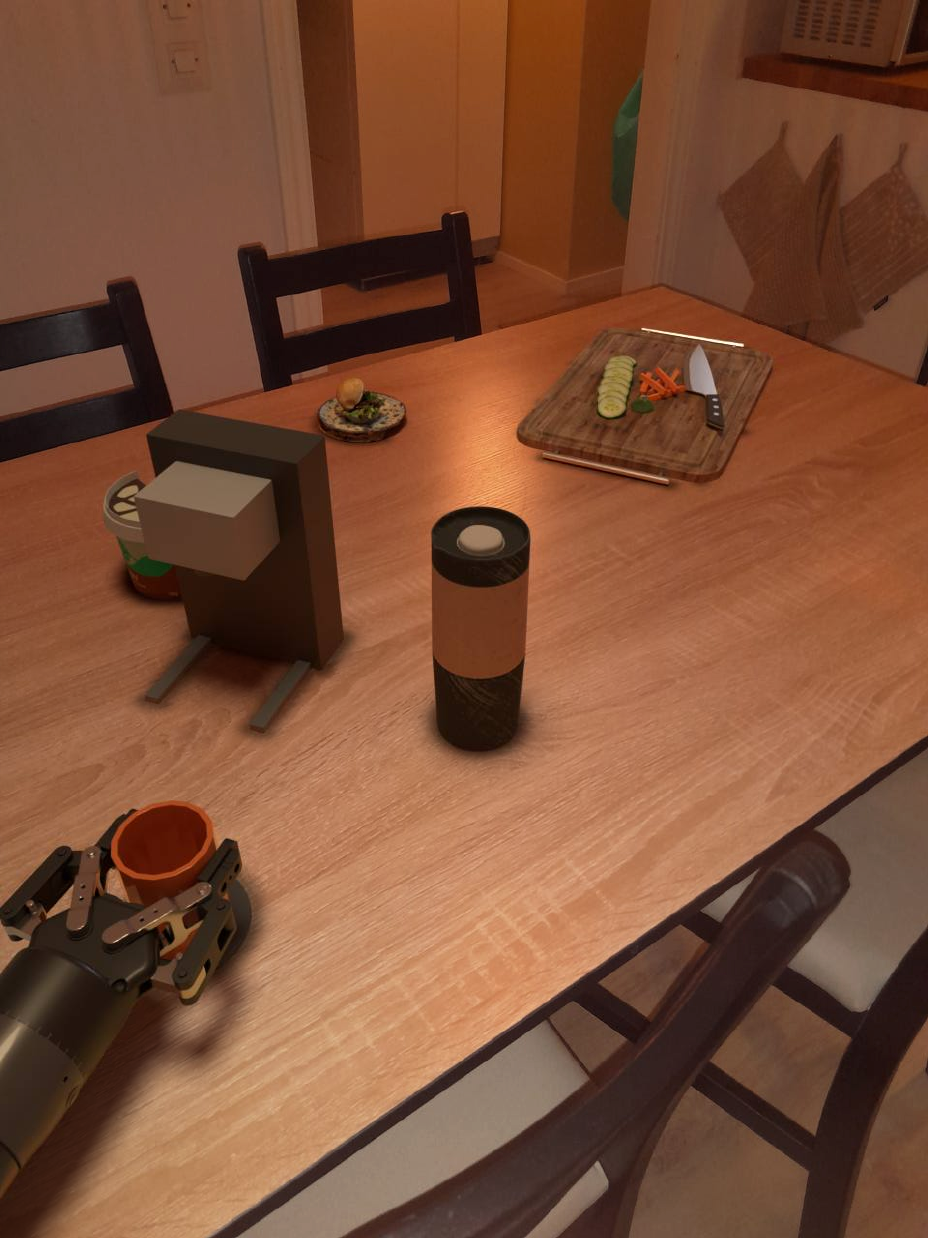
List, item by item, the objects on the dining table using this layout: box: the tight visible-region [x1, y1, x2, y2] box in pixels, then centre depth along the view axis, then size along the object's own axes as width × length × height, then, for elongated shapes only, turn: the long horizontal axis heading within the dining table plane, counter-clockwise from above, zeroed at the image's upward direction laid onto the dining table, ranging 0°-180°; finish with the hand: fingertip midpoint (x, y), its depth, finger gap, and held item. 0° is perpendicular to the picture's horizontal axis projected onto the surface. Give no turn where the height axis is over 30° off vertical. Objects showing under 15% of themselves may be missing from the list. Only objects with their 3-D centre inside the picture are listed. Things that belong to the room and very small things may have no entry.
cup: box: [111, 800, 232, 960], centre depth 66 cm, size 6×6×9 cm
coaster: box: [160, 878, 252, 970], centre depth 69 cm, size 9×9×1 cm
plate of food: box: [316, 370, 407, 443], centre depth 127 cm, size 12×12×8 cm
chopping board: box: [516, 326, 774, 486], centre depth 134 cm, size 45×27×3 cm, turn 156°
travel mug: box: [430, 505, 532, 752], centre depth 79 cm, size 8×8×20 cm
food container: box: [102, 469, 183, 601], centre depth 97 cm, size 12×6×10 cm, turn 42°
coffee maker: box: [134, 408, 345, 734], centre depth 83 cm, size 14×14×22 cm
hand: (186, 832), depth 66 cm, fingers open, 6 cm apart
